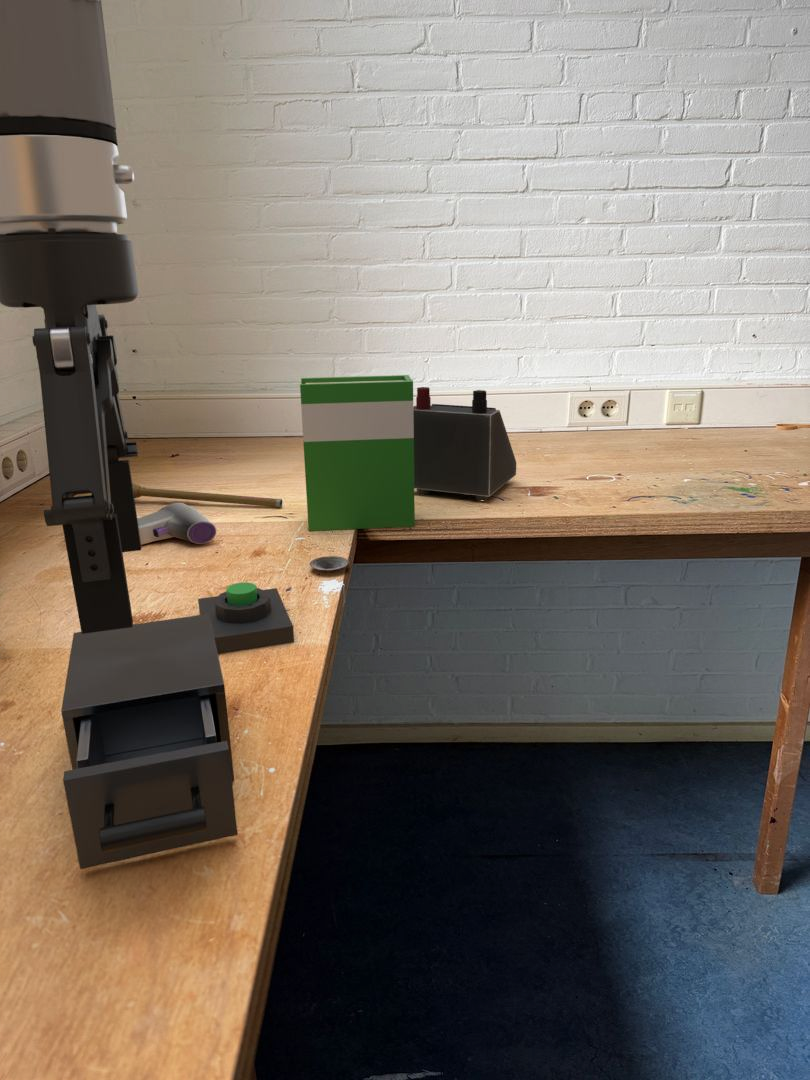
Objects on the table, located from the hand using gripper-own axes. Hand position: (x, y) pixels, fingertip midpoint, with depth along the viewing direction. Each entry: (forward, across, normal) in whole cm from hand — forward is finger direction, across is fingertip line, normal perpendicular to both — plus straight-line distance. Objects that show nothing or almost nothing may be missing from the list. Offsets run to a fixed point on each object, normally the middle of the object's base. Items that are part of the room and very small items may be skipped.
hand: (115, 585), depth 51 cm
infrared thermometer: (+22, +75, +1) cm, 78 cm away
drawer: (+22, +6, 0) cm, 23 cm away
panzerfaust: (+22, +96, -4) cm, 99 cm away
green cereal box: (+22, +76, -32) cm, 86 cm away
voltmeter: (+22, +90, -56) cm, 108 cm away
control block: (+23, +40, -10) cm, 47 cm away
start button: (+19, +40, -10) cm, 46 cm away
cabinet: (+23, +17, +1) cm, 28 cm away
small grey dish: (+23, +56, -23) cm, 64 cm away
